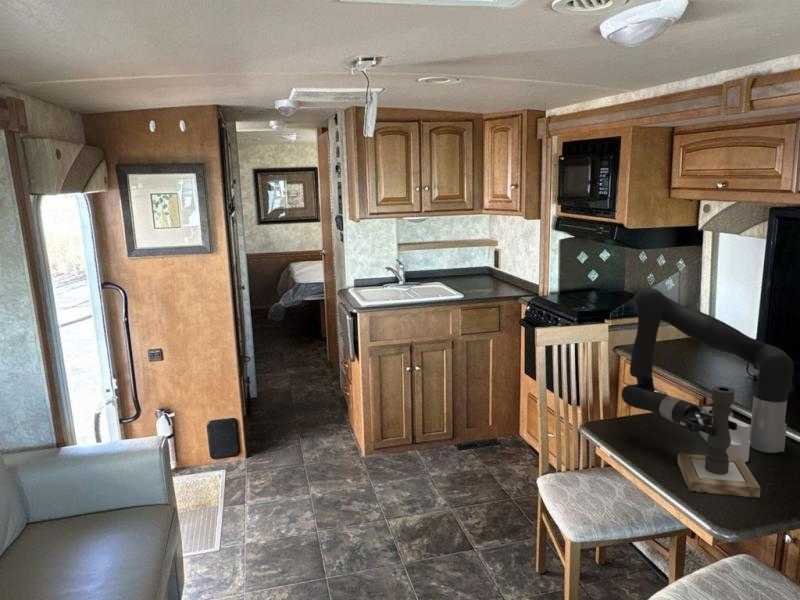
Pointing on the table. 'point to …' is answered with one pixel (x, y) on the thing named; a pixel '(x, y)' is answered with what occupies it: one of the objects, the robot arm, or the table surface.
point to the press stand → (718, 486)
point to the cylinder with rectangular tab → (739, 440)
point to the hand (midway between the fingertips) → (726, 430)
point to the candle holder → (720, 431)
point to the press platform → (703, 473)
